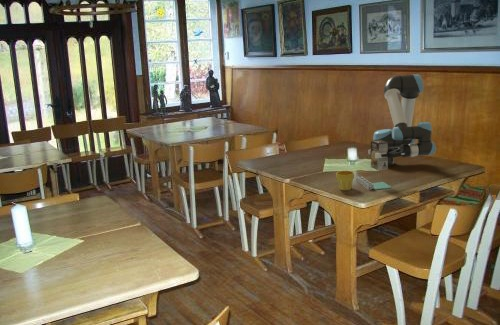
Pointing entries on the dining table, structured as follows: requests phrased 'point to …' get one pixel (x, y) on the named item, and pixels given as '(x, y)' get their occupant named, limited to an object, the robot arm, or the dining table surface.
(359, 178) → the steel rail
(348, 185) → the plant pot
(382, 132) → the robot arm
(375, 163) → the coffee box
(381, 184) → the pad
